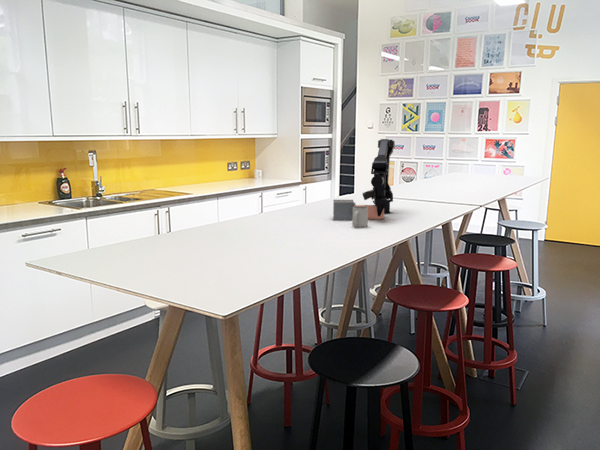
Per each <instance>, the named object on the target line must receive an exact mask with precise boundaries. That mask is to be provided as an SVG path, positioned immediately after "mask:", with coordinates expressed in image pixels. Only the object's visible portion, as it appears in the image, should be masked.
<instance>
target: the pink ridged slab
mask: <svg viewBox="0 0 600 450" xmlns="http://www.w3.org/2000/svg"><path fill="white" fill-rule="evenodd" d="M356 206H364V207H368V220H369V219H374V220H375V219H376V220H377V219H378V220H379V219H380V220H381V219H382V220H383V219H385V213H384V209H383V211H382V213H381V215H380V216H378V213H377V207H376V205H375V204H356V205H354V207H356Z"/></svg>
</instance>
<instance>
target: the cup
mask: <svg viewBox="0 0 600 450" xmlns="http://www.w3.org/2000/svg"><path fill="white" fill-rule="evenodd" d="M368 220H369V219H368V207H364V206H356V207H353V220H351V221H352V224H351V225H352V227H353V226H354V228H359V227H361V228H362V227H363V228H367V227H368V223H369V221H368ZM363 228H362V229H363Z"/></svg>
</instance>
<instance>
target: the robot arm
mask: <svg viewBox="0 0 600 450" xmlns="http://www.w3.org/2000/svg"><path fill="white" fill-rule="evenodd" d="M395 143H396V142H395V141H394V140H393V139H389V138H381V139H379V140H377V148H378V152H377V156H375V157H374V159H373V162H372V164H371V171H370V174H371V175H373V177H372V178H371V180H370V184H371V186H372V189H370V190H367V191H364V192H362V196H363V197H362V198H363V200H364V201H367V200H369V199H371V201H372V203H373V205H376V207H377V213H378V216H380V215H381V213H382V211H383V209H384V214H390V213H391V208H390V207H391V203H392V202H394V194H393V191H392V188H391V185H390V184H389V177H390V175H389V174H390V162H391V161H390V159H391V156H392V154H393V153H394V149H395Z"/></svg>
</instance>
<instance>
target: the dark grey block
mask: <svg viewBox="0 0 600 450" xmlns="http://www.w3.org/2000/svg"><path fill="white" fill-rule="evenodd" d="M332 202H333V207H332V208H333V211H332V213H333V214H332V219H333V221H353V207H354V205H357V204H356V202H354V199H333V201H332Z"/></svg>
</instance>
